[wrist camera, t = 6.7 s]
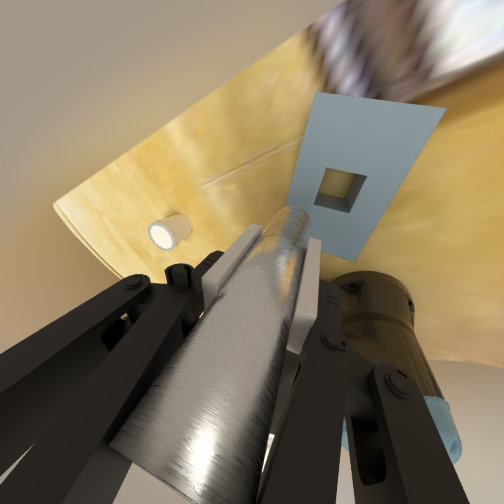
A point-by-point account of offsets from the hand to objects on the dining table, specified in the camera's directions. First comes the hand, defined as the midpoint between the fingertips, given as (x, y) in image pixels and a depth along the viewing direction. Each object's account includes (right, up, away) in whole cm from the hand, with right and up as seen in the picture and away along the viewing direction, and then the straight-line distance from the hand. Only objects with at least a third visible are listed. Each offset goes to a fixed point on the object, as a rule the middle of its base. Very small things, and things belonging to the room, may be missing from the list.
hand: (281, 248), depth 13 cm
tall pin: (+1, +2, +4) cm, 5 cm away
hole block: (+11, +11, +15) cm, 22 cm away
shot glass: (-19, +6, +31) cm, 37 cm away
